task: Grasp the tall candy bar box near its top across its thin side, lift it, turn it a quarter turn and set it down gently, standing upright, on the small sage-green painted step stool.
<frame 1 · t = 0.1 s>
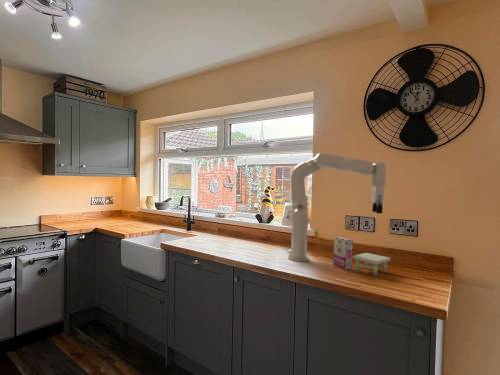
hand: (377, 212, 175), 31 cm above the worktop, tool pointing down, fingers open, 9 cm apart
step stool: (371, 271, 162), on the worktop
candy bar box: (342, 267, 169), on the worktop
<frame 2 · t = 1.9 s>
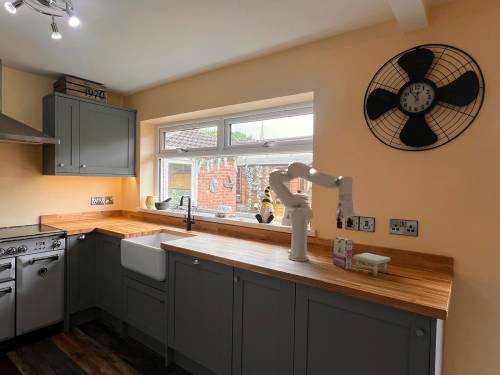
hand: (344, 227, 169), 22 cm above the worktop, tool pointing down, fingers open, 9 cm apart
nothing on the worktop moved.
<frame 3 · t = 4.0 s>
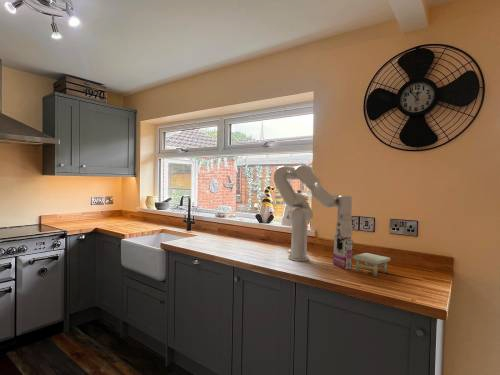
hand: (343, 248, 169), 11 cm above the worktop, tool pointing down, fingers closed on candy bar box, 6 cm apart
candy bar box: (342, 267, 169), on the worktop, touching gripper
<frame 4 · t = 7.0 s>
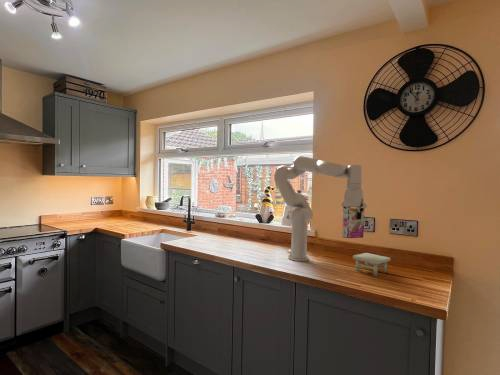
hand: (353, 218, 167), 28 cm above the worktop, tool pointing down, fingers closed on candy bar box, 6 cm apart
candy bar box: (353, 237, 166), point 17 cm above the worktop, touching gripper
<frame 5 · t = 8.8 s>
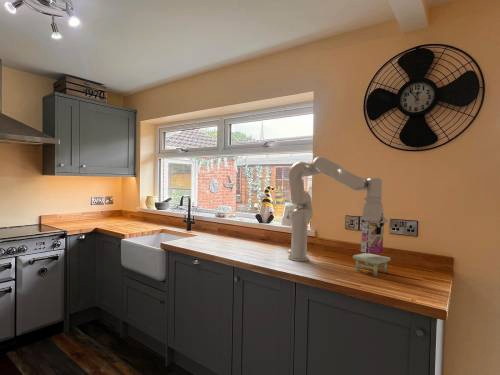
hand: (372, 233, 162), 21 cm above the worktop, tool pointing down, fingers closed on candy bar box, 6 cm apart
candy bar box: (371, 252, 162), point 10 cm above the worktop, touching gripper
when the fingers open (19 cm above the worktop, at t = 10.3 s): candy bar box stays where it is, resting on step stool.
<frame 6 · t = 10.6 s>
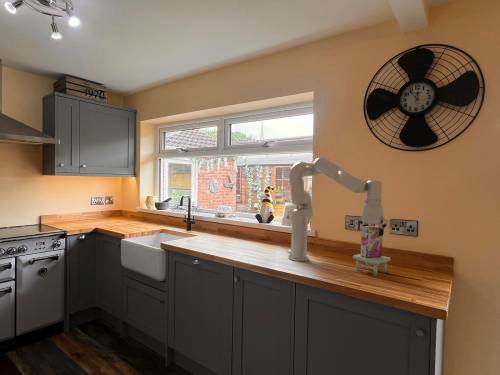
hand: (372, 234, 162), 20 cm above the worktop, tool pointing down, fingers open, 9 cm apart
candy bar box: (371, 257, 162), point 8 cm above the worktop, touching step stool
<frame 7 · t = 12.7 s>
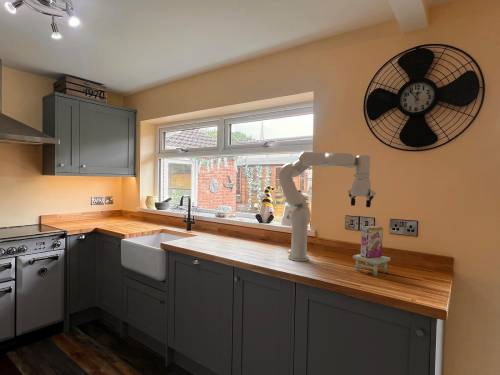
hand: (360, 206, 171), 35 cm above the worktop, tool pointing down, fingers open, 9 cm apart
nothing on the worktop moved.
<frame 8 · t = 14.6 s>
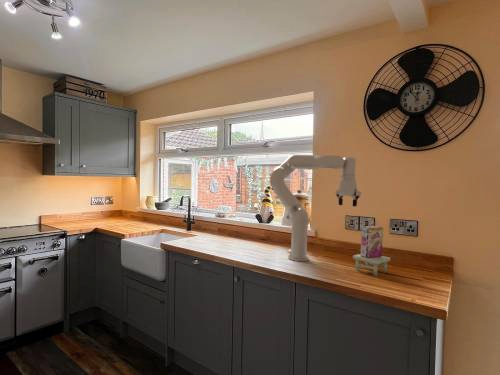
hand: (347, 205, 181), 34 cm above the worktop, tool pointing down, fingers open, 9 cm apart
nothing on the worktop moved.
at the end: candy bar box inside the target area on the step stool (0.2 cm from its centre), point 7.8 cm above the step stool's base; candy bar box tilted 0°; the gripper is holding nothing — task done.
